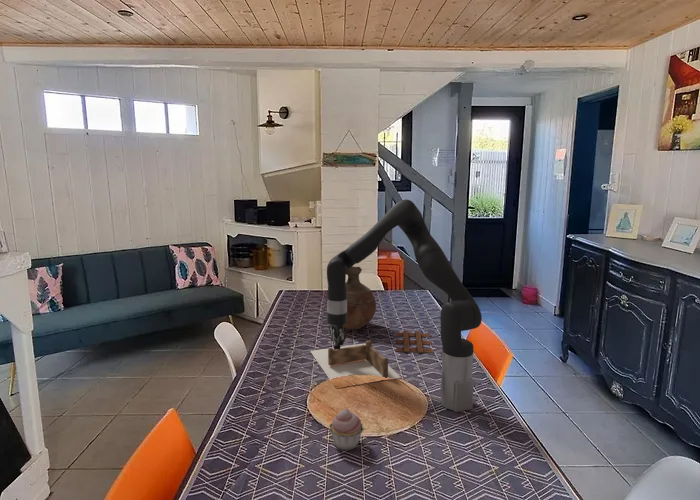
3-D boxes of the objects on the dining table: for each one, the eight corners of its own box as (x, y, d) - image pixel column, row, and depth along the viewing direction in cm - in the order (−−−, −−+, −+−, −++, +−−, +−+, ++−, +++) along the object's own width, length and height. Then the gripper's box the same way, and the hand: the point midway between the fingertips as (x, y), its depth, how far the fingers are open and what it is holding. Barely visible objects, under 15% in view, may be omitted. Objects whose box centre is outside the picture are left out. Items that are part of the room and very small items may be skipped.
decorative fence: (396, 354, 180) (433, 355, 179) (396, 350, 180) (434, 351, 178) (396, 334, 203) (429, 335, 201) (396, 330, 202) (429, 331, 201)
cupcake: (371, 442, 120) (371, 408, 118) (347, 459, 113) (347, 422, 112) (345, 429, 126) (345, 396, 125) (321, 444, 119) (321, 409, 118)
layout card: (401, 377, 158) (401, 377, 158) (336, 388, 150) (336, 388, 150) (365, 343, 189) (365, 343, 189) (310, 351, 181) (310, 350, 181)
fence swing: (363, 357, 173) (364, 342, 172) (365, 359, 171) (365, 344, 170) (327, 364, 167) (327, 348, 166) (329, 366, 166) (329, 350, 165)
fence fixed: (389, 377, 158) (389, 357, 157) (383, 378, 157) (383, 358, 156) (370, 358, 174) (370, 340, 173) (364, 359, 174) (364, 340, 172)
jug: (383, 331, 204) (384, 267, 198) (339, 338, 196) (338, 271, 191) (364, 317, 223) (364, 258, 218) (323, 323, 216) (322, 261, 211)
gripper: (353, 314, 163) (352, 359, 166) (340, 304, 175) (340, 346, 178) (333, 317, 160) (333, 362, 163) (321, 306, 172) (322, 348, 175)
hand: (336, 353), depth 171 cm, fingers closed
